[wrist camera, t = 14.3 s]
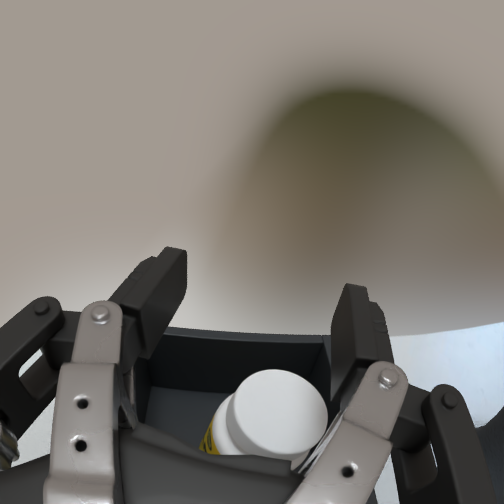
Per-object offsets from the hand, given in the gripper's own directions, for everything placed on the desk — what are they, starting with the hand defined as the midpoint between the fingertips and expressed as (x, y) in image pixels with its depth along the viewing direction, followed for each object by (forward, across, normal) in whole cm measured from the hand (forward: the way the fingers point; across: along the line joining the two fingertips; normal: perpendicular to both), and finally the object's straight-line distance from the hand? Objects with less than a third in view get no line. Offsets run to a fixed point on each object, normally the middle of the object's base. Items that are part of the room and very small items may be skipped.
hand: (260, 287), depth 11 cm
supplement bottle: (-3, 0, +12) cm, 12 cm away
